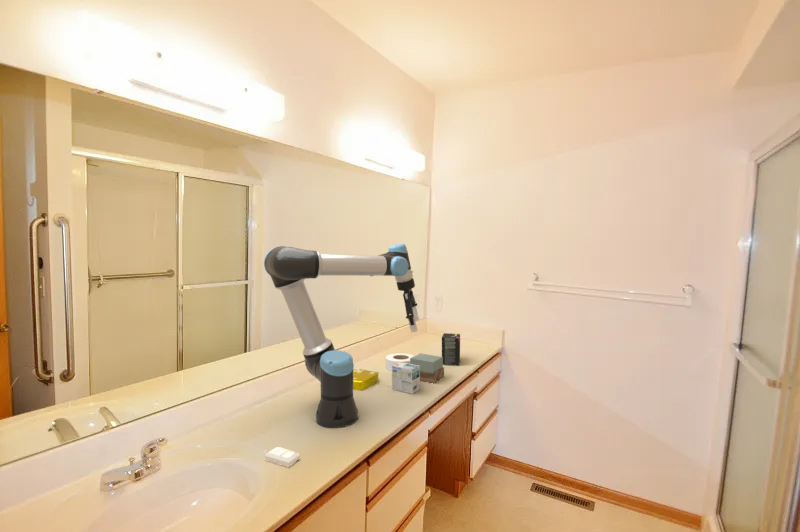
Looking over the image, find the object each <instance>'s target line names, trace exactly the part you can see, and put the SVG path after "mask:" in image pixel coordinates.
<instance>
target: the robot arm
mask: <svg viewBox="0 0 800 532" xmlns="http://www.w3.org/2000/svg"><path fill="white" fill-rule="evenodd" d="M263 265H264V270H265V271H266V273H267V274H268V275H269V276H270V278H271V280H272V281H271V282H273V283H272V284H273V285H274V288H275V289H277V290H280V291H281V293H282V295H283V298H284V301H285V303H286V306H287V308H288V310H289V312H290V315H291V317H292V320H293V322H294V324H295V326H296V329H297V332H298V335H299V337H300V339H301V341H302V344H303V347H304V348H303V350H302V355H303V358H304V364H305V365H304V366H305V367H306V370H307V372H308V374H310V375H312V377H314V378H315V379H317V381H319V382H320V399H319V402H318V406H317V409H316V413H315V422H316V423H317V424H319V426H321V427H325V428H343V427H347V426H351V425H352V423H353V424H354V423H355V422H357V421H358V419H359V409H358V408H357V404H356V401H355V398H354V389H353V368H355V367H354V366H355V364H354V359H353V356H352V354H351V353H349V352H347V351H342V350H338V349H337V350H336V349H335V347H334V345H333V342H332V339H329V338H327V337H326V335H325V332H324V330H323V327H322V325H321V322H320V319H319V316H318V315H317V312H316V310H315V307H314V304H313V301H312V300H311V297H310V294H309V292H308V289H307V287H306V285H305V279H306V280H308V279H317V278H318V277H319V276H362V277H363V276H365V277H366V276H370V277H374V276H375V277H377V276H379V277H380V276H381V277H382V276H384V277H385V276H387V277H389V276H390V277H393V276H394V278H395V282H396V286H397V290H398V291H400V292H402V291H403V293H402V296H403V301H404V307H405V313H406V316H405V319H407V320H408V324H409V325H408V326H409V330H410V333H416V332H418V327H417V323H416V322H418V321H420V317H419V314H418V310H417V309H418V308H417V306H418V303H417V302H416V299H415V295H414V291H413V289H414V288H415V287H416V284H415V280H414V279H415V278H413V276H414V275H413V273H414V270H413V269H412V267H411V262H410V257H409V252H408V249H407V245H406V244H405V243H396V244H392V245H390V246H388V252H385V253H382V254H378V255H366V254H334V253H319V251H317V250H310V249H309V250H307V249H302V248H297V247H295V246H294V247H292V246H284V245H281V246H280V245H279V246H277V247H276V246H275V247H274V248H272V249H270V250H269V251H268V252H267V253H266V255H265V257H264V260H263Z"/></svg>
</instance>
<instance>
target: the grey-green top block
mask: <svg viewBox="0 0 800 532" xmlns="http://www.w3.org/2000/svg"><path fill="white" fill-rule="evenodd" d="M410 364H413V365H420V371H424V372H429V373H434V372H436V371H438V370H439V369H441V368H443V367H444V365H443V357H442V356H439V355H433V354H428V353H427V354H426V353H418V354H416V355H414V357H412V358H410Z"/></svg>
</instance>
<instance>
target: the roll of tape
mask: <svg viewBox="0 0 800 532" xmlns="http://www.w3.org/2000/svg"><path fill="white" fill-rule="evenodd" d="M414 356H415V355H414V354H411V353H404V352H403V353H401V352H399V353H396V352H395V353H391V354H387V355H386V356H385V369H386V370H387V369H388V371H390V372H392V365H394V364H396V363H399V362H402V363H408V364H410V358H412V357H414Z"/></svg>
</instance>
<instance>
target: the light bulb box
mask: <svg viewBox="0 0 800 532" xmlns="http://www.w3.org/2000/svg"><path fill="white" fill-rule="evenodd" d="M391 389H392V390H393V391H394V390H395V391H398V392H402V393H407V394H411V395H412V394H414V393H416V392H419V391H420V390H421V381H420V365H413V364H408V363H402V362H399V363H396V364H394V365H392V371H391Z"/></svg>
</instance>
